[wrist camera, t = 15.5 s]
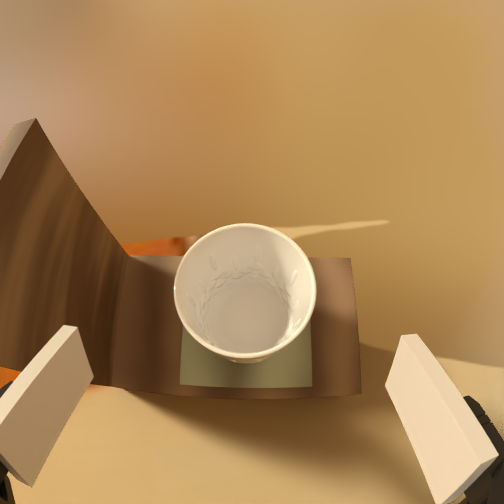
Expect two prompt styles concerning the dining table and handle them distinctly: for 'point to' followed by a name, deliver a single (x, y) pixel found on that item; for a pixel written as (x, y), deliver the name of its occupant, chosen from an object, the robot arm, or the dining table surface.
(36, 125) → the walnut shelf
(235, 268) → the white cup
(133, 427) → the dining table surface
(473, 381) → the dining table surface
